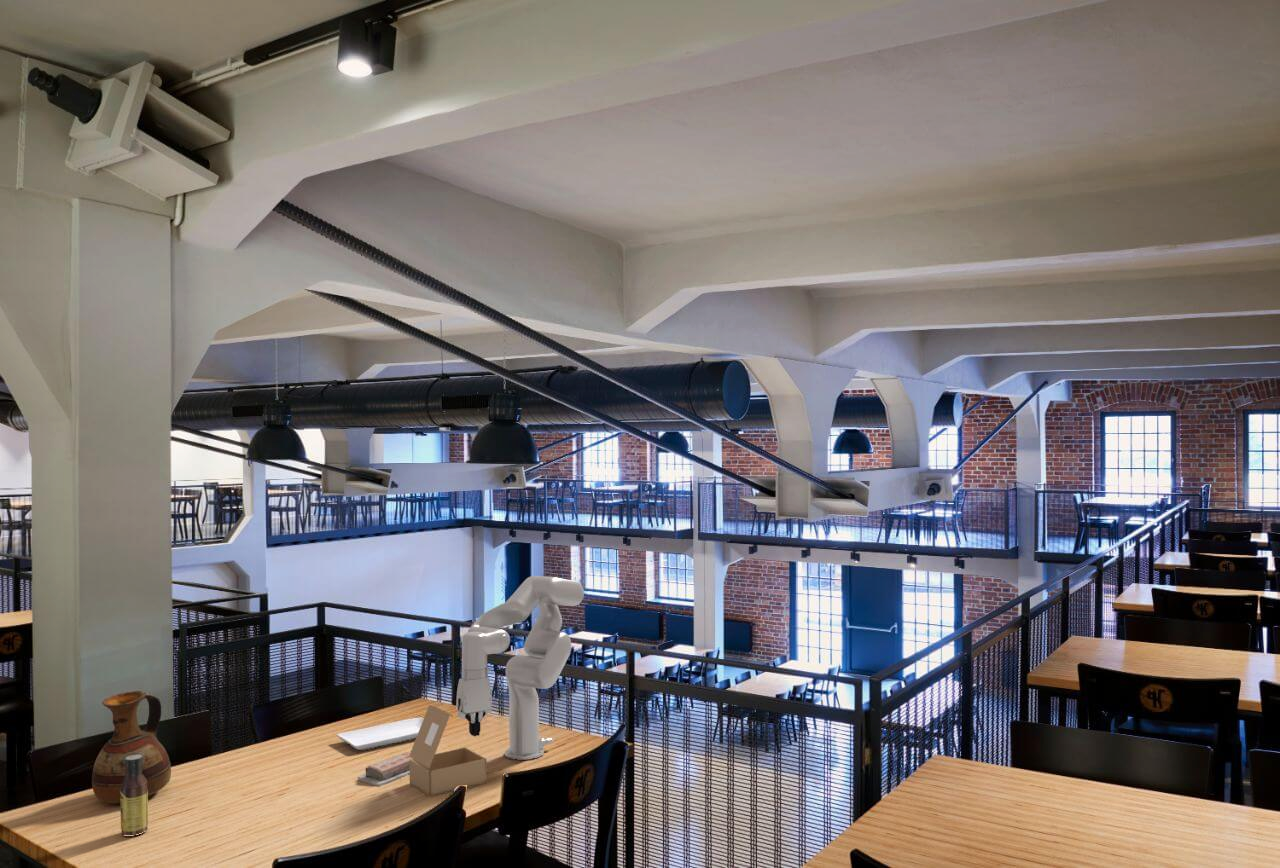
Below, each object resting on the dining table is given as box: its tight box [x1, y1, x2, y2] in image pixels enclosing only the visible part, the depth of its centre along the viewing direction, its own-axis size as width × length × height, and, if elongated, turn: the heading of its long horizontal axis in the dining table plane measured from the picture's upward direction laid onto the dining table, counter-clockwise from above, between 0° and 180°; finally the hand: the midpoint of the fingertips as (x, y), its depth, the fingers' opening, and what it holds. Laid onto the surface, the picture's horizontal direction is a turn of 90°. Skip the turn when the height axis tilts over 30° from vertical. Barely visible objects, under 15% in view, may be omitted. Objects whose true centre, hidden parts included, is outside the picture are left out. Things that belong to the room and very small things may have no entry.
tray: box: [336, 717, 424, 751], centre depth 319 cm, size 17×32×4 cm, turn 129°
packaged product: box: [357, 752, 413, 787], centre depth 284 cm, size 18×5×10 cm
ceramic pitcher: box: [91, 690, 172, 804], centre depth 269 cm, size 20×20×30 cm
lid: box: [409, 704, 453, 768], centre depth 273 cm, size 16×14×2 cm
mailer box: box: [409, 747, 488, 798], centre depth 275 cm, size 18×14×7 cm
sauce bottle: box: [119, 755, 149, 836], centre depth 241 cm, size 7×6×20 cm
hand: (474, 734), depth 281 cm, fingers closed
